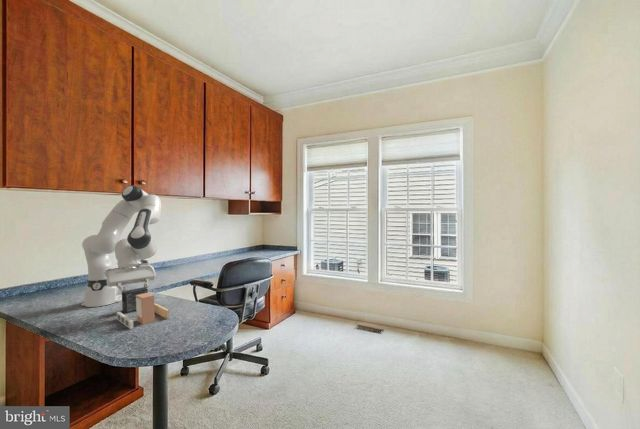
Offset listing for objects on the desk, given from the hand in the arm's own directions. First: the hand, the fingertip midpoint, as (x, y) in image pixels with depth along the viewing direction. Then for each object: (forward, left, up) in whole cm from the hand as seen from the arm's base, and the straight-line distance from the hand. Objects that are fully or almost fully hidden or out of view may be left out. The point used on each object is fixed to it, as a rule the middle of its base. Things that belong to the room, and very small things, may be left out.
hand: (135, 289), depth 138 cm
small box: (-16, -4, -14) cm, 22 cm away
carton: (+5, +5, -14) cm, 16 cm away
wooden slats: (+2, +3, -14) cm, 14 cm away
